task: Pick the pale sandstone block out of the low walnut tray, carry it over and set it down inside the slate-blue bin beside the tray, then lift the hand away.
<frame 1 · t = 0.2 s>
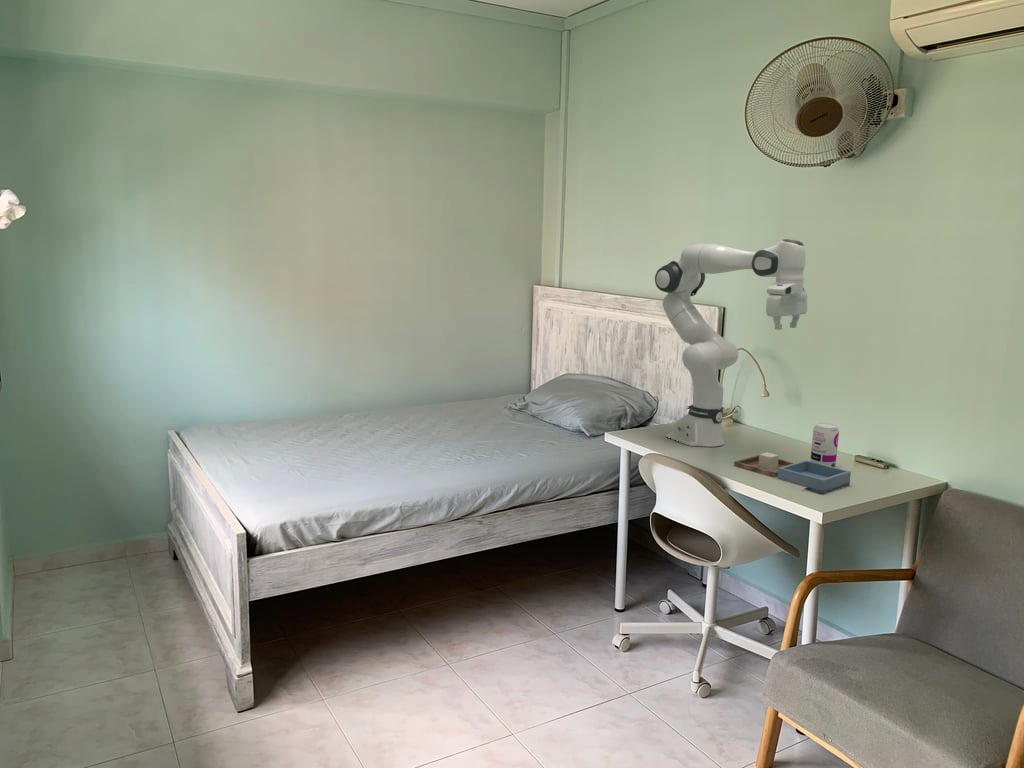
hand: (785, 328, 272), 47 cm above the table, tool pointing down, fingers open, 8 cm apart
walnut tray: (767, 470, 270), on the table
slate-blue bin: (813, 483, 257), on the table
supplement can: (822, 468, 275), on the table
sandstone block: (767, 467, 270), point 1 cm above the table, touching walnut tray
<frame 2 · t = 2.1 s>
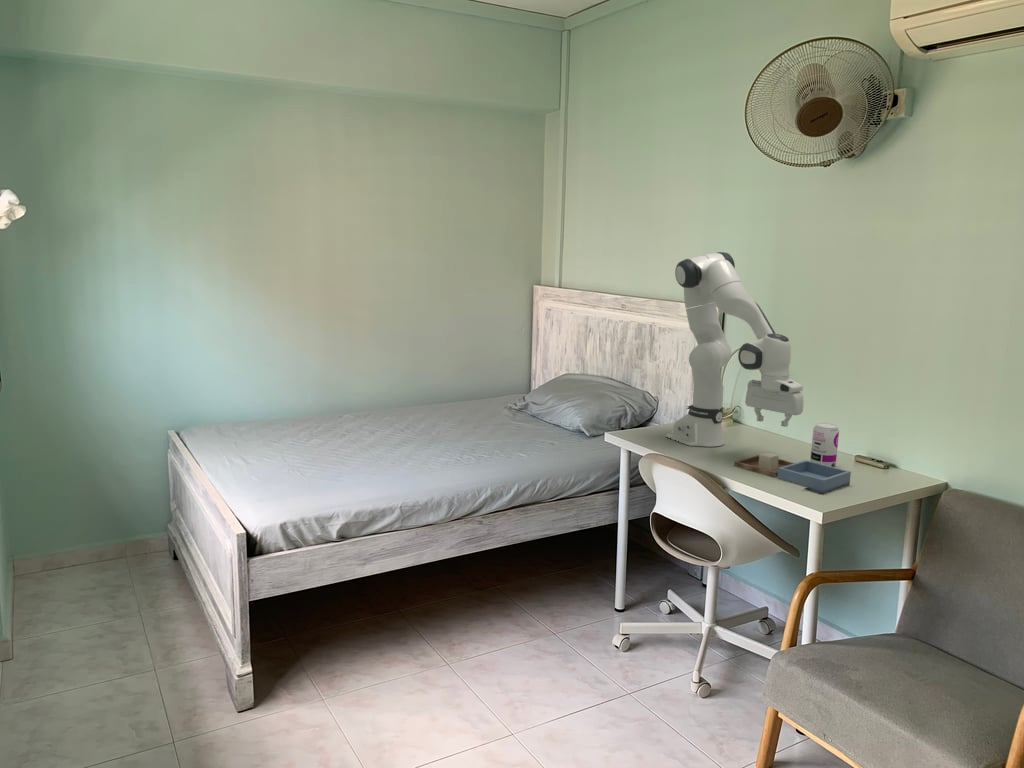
hand: (772, 423, 267), 16 cm above the table, tool pointing down, fingers open, 8 cm apart
nothing on the table moved.
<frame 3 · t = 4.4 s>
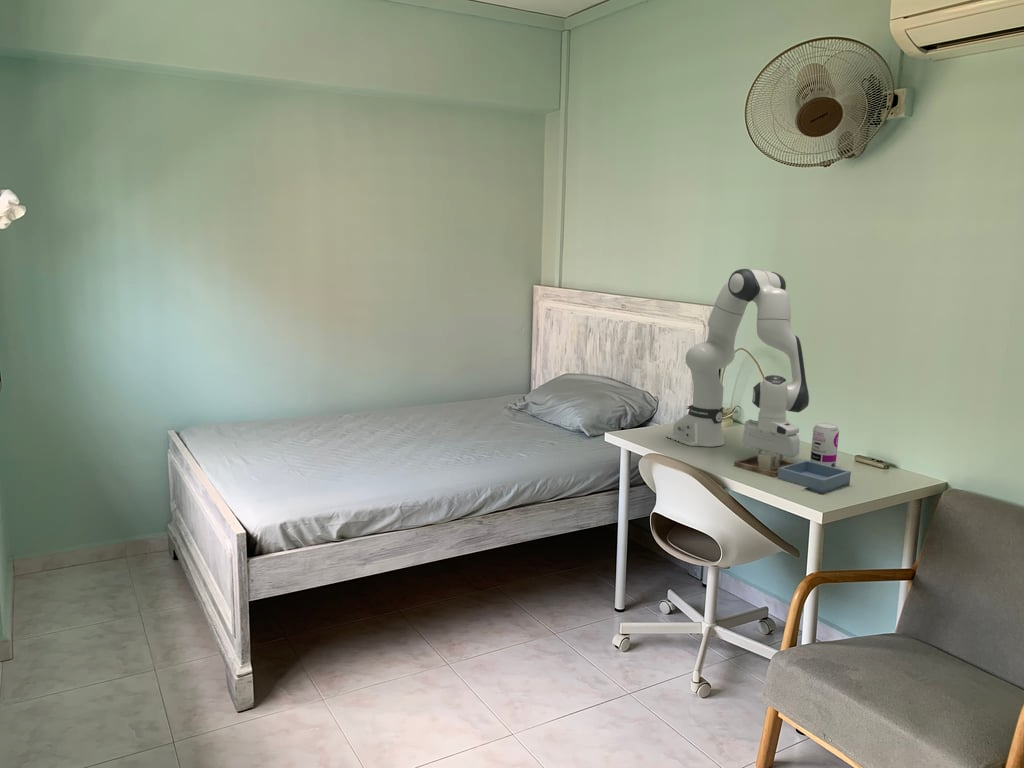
hand: (768, 463, 270), 2 cm above the table, tool pointing down, fingers closed on sandstone block, 4 cm apart
sandstone block: (767, 467, 270), point 1 cm above the table, touching gripper, walnut tray
everything else where it was.
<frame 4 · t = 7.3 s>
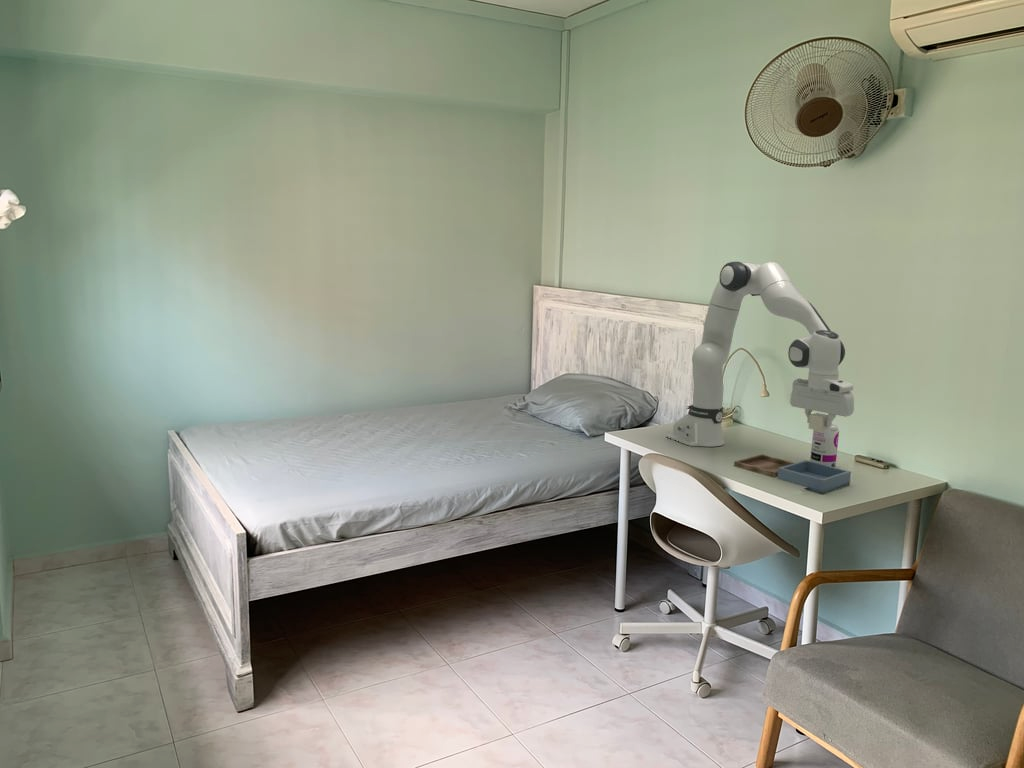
hand: (819, 425, 253), 19 cm above the table, tool pointing down, fingers closed on sandstone block, 4 cm apart
sandstone block: (818, 428, 254), point 18 cm above the table, touching gripper
everything else where it was.
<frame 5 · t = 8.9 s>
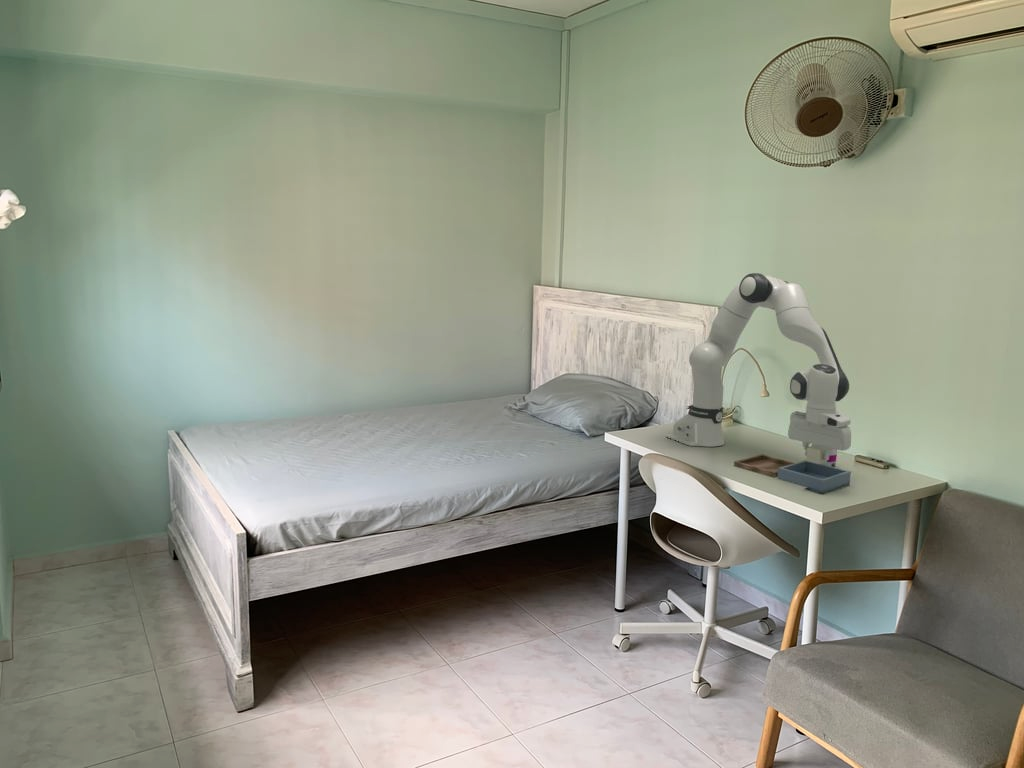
hand: (816, 457, 256), 9 cm above the table, tool pointing down, fingers closed on sandstone block, 4 cm apart
sandstone block: (816, 461, 256), point 7 cm above the table, touching gripper
everything else where it was.
when the fingers open (4 cm above the table, at t = 10.4 s): sandstone block drops 2 cm, resting on slate-blue bin.
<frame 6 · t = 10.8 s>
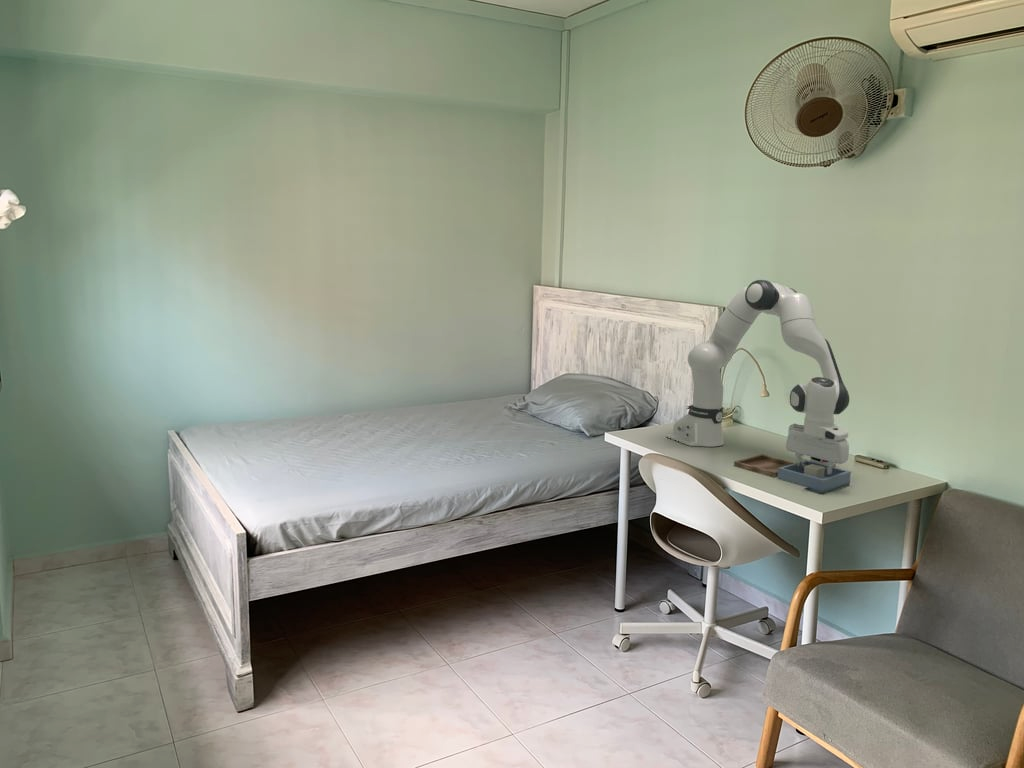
hand: (814, 470, 256), 4 cm above the table, tool pointing down, fingers open, 8 cm apart
sandstone block: (813, 480, 257), point 1 cm above the table, touching slate-blue bin
everything else where it was.
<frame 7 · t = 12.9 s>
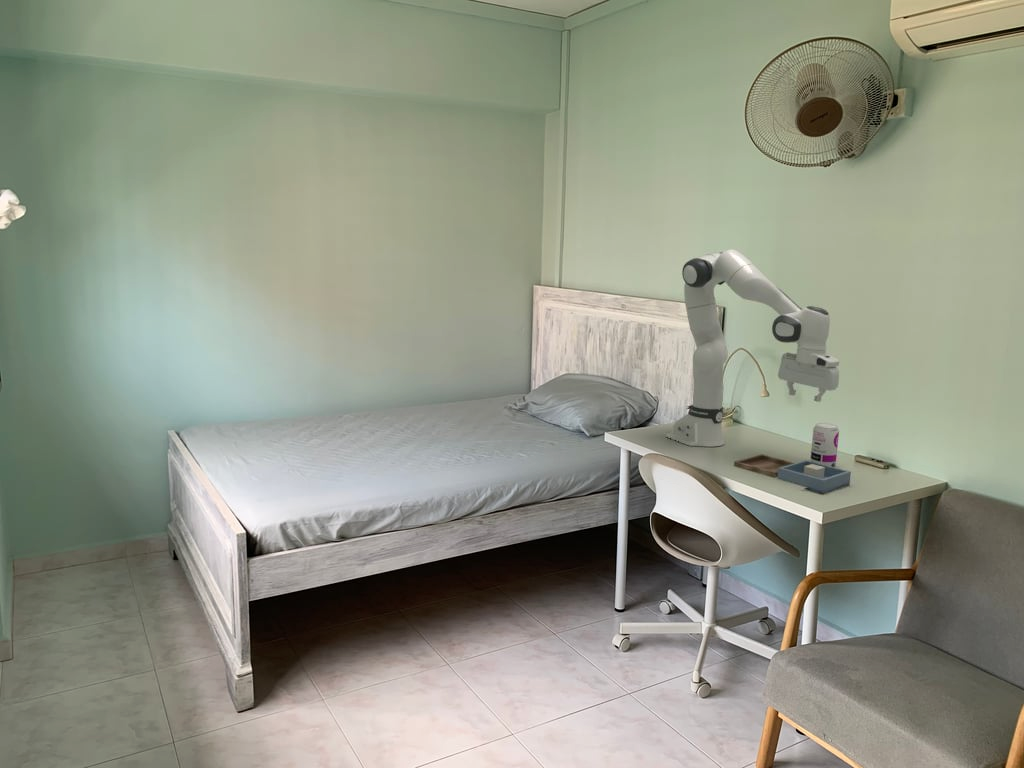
hand: (804, 398, 262), 26 cm above the table, tool pointing down, fingers open, 8 cm apart
nothing on the table moved.
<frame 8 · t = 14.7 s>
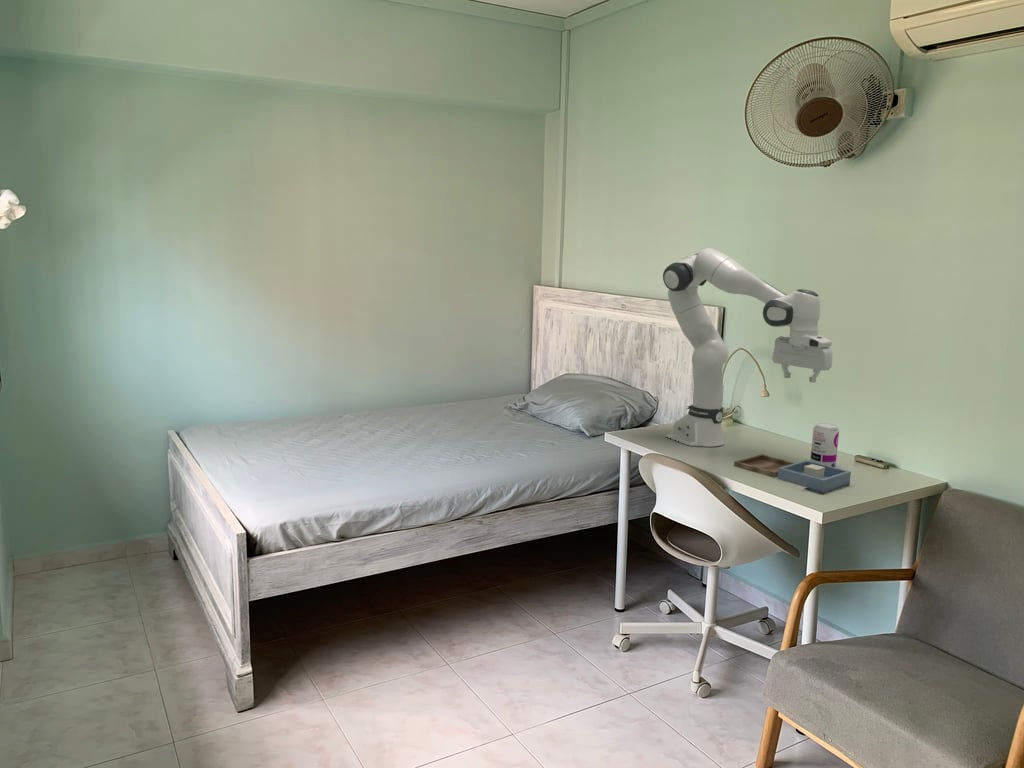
hand: (799, 380, 266), 31 cm above the table, tool pointing down, fingers open, 8 cm apart
nothing on the table moved.
at the end: sandstone block inside the target area on the slate-blue bin (0.1 cm from its centre), point 1.0 cm above the slate-blue bin's base; the gripper is holding nothing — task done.
